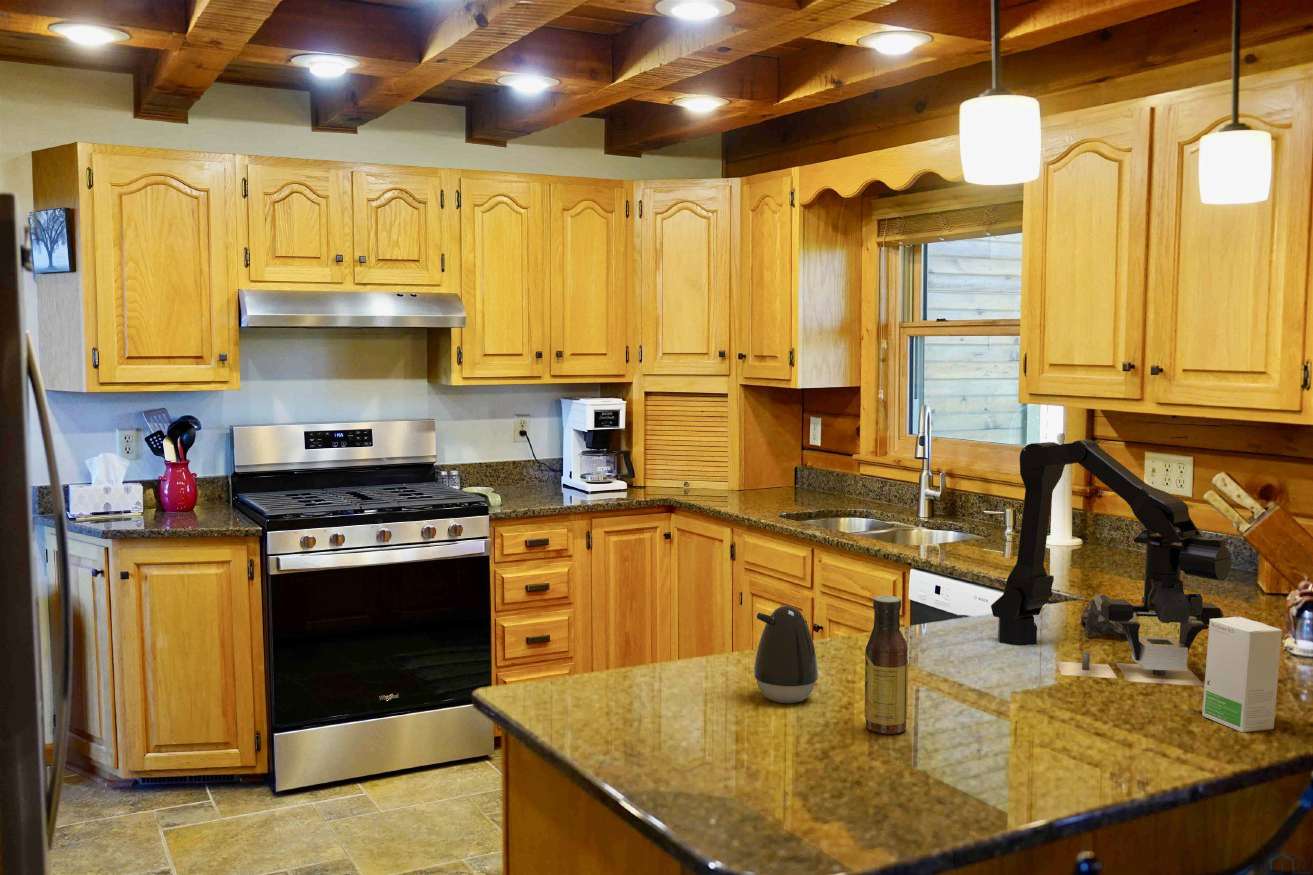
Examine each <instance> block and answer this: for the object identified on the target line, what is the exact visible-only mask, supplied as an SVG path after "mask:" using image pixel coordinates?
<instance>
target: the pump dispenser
mask: <svg viewBox="0 0 1313 875" xmlns="http://www.w3.org/2000/svg"><path fill="white" fill-rule="evenodd" d="M756 619H757V620H759V621H761V622H763V623H765V625H764V628H763V630H762V633H761V635H760V639H759V642H758V646H757V650H756V654H755V660H754V668H753V669H754V671H753V672H754V673H753V676H754V679H755V680H756V684H757V687H758V689H759V691H760V692H761V694H762V695H763V696H764V697H765V698H766V699H767V700H770V701H772V702H774V703H779V704H797V703H800V702H802V701H804V700H806V699H807V698H808V697H809V696H810V695H811V694H812V692H813V690H814V689H815V688H814V687H815V685H816V682H817V681H818V676H819V674H818V672H819V670H818V661H817V653H816V648H815V643H814V639H813V637H812V634H811V631H810V627H809V625H808V622H807V620H806V619H805V617H804V615H803V613H802V612H801V611H800V610H799V609H797V608H796V607H795V606H792V605H781V606H779V607H778V608H775V610H774V611H772V613H771V614H770V615H769V614H766V613H762V612H758V613H757V614H756Z"/></svg>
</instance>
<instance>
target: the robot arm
mask: <svg viewBox="0 0 1313 875" xmlns="http://www.w3.org/2000/svg"><path fill="white" fill-rule="evenodd" d="M1112 456H1113V455H1110V454H1109V453H1108V452H1106V451H1105V449H1104V448H1102V447H1101V446H1100V445H1099V444H1098V443H1097V442H1096V441H1094V440H1093V439H1081V440H1075V441H1072V442H1068V443H1062V444H1059V443H1056V442H1054V441H1053V442H1050V441H1049V442H1034V443H1033V442H1031V443H1029V444H1027V445H1025V447H1022V448H1021V450H1020V453H1019V474H1020V478H1021V481H1022V483H1023V485H1024V489H1025V491H1024V492H1025V493H1024V500H1023V508H1022V515H1021V516H1022V517H1021V523H1020V524H1021V525H1020V533H1019V540H1018V542H1019V543H1018V550H1017V557H1016V558H1017V559H1016V563H1015V565H1014V566H1013V568H1012V569H1011V571H1010V573H1009V575H1008V576H1007V579H1006V582H1005V586H1004V589H1003V594H1002V595H1001V596H999V598H998V599H996V600H995V601H994V602H993V603H992V604H991V605H990V608H991V612H992V616H993V617H995V618H998V622H997V623H998V624H997V625H998V628H997V630H998V632H997V640H998V643H999V644H1005V645H1010V646H1011V645H1012V646H1030V645H1031V646H1034V645H1035V646H1036V645H1037V644H1038V643H1037V642H1038V641H1037V640H1038V626H1037V624H1036V622H1035V617H1034V616H1039V615H1040V614H1041V611H1042V609H1043V607H1044V606H1045V605H1047V604H1048V602H1049V599H1050V598H1051V597H1053V590H1052V589H1053V588H1052V587H1053V584H1054V581H1055V578H1054V575H1050V574H1048V573H1047V571H1046V569H1045V555H1046V549H1047V548H1046V547H1047V539H1048V531H1049V530H1048V529H1049V523H1050V522H1049V521H1050V515H1051V514H1050V513H1051V508H1052V499H1053V492H1054V490H1055V489H1056V487H1057V485H1058V483H1059V482H1060V480H1061V478H1062V476H1063V473H1064V469H1065V466H1066V465H1067V466H1068V465H1074V464H1078V465H1080V466H1081V467H1082V468H1083V469H1085V470H1086V471H1088V472H1089V473H1090V474H1091V475H1092V476H1094V477H1095V478H1096V479H1098V481H1100V482H1101V483H1102V484H1103V485H1105V486H1106V487H1107V488H1109V489H1110V490H1112V492H1114V493H1115V494H1116V495H1117V496H1118V497H1120V498H1121V499H1122V500H1124V501H1125V502H1126V504H1128V505H1129V507H1130V509H1131V511H1132V513H1133V515H1134V517H1135V518H1136V519H1137V520H1138V521H1139V522H1140V523H1141V524H1142V526H1143V527H1144V528H1145V529H1143V530H1142V532H1141V533H1140V534H1139V535H1137V536H1136V537H1134V538H1133V542H1134V543H1137V544H1142V545H1145V558H1144V559H1145V561H1144V573H1143V574H1142V580H1143V581H1144V582H1143V583H1144V584H1143V596H1142V597H1141V603H1142V605H1140V604H1139V605H1137V604H1132V603H1130V602H1129V601H1127V600H1126V599H1124V598H1123V599H1117V598H1110V599H1104V601H1103V602H1102V603H1101V614H1102V615H1103V616H1104V617H1105V618H1106V619H1108V620H1110V621H1117V622H1118V623H1119V624H1120V625H1122V627H1123V629H1124V631H1125V633H1126V635H1127V638H1128V643H1129V646H1130V650H1131V654H1132V653H1133V656H1134V658H1135V660H1136V661H1138V660H1139V636H1140V635H1139V634H1140V633H1139V630H1140V628H1141V624H1140V623H1139V622H1138V621H1137V617H1149V618H1150V617H1152V618H1157V619H1158V621H1159V622H1161V623H1163V624H1170V623H1174V624H1175V623H1178V624H1180V626H1179V640H1178V641H1179V642H1181V643H1182V644H1184V645H1185V646H1186V647H1188V652H1190V649H1191V646H1192V644H1193V642H1194V640H1195V639H1196V637H1197V636H1198V635H1199V633H1201V632H1202V631H1203V630H1209V623H1210V619H1215V618H1224V615H1225V614H1224V612H1223V610H1222V609H1221V608H1220V607H1219V606H1217V605H1215V604H1214V603H1212V602H1206V601H1204V602H1203V600H1204V599H1203V596H1202V594H1201V593H1188V594H1186V593H1185V592H1184V584H1183V583H1184V582H1183V580H1182V572H1183V573H1184V575H1186V576H1189V577H1196V578H1202V579H1208V580H1214V581H1220V582H1223V581H1225V580H1226V579H1227V578H1228V576H1229V574H1230V571H1231V568H1232V557H1231V554H1230V550H1229V549H1228V548H1227V546H1226V544H1227V541H1226V539H1225V538H1224V539H1223V538H1206V537H1203V535H1202V534H1201V532H1200V531H1199V529H1198V528H1197V526H1196V524H1195V523H1194V521H1193V519H1192V518H1191V517H1190V513H1189V510H1190V508H1189V507H1188V504H1186V502H1185V501H1183V500H1182V499H1180V498H1178V497H1176V496H1174V495H1172V494H1171V493H1169V492H1167V491H1165V490H1162V489H1158V488H1156V487H1154V486H1152V485H1149V484H1148V483H1146V482H1145V481H1144V480H1142V479H1141V478H1140V477H1138V475H1137V474H1134V473H1133V472H1132V471H1130V470H1129V469H1128V468H1127V467H1126V466H1125V465H1123V464H1122V463H1121V462H1119V461H1118V460H1117V459H1116V458H1114V457H1112Z"/></svg>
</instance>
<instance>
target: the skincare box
mask: <svg viewBox="0 0 1313 875" xmlns="http://www.w3.org/2000/svg"><path fill="white" fill-rule="evenodd" d="M1208 626H1209V628H1208V636H1207V637H1208V638H1207V649H1206V650H1207V651H1206V663H1205V674H1204V675H1205V676H1204V685H1205V686H1203V687H1204V689H1203V700H1202V712H1201V713H1202V716H1203V718H1207V719H1209V720H1211V721H1214V722H1216V723H1218V724H1221V725H1223V726H1226V727H1228V728H1231V729H1234V730H1236V731H1238V732H1240V733H1250V732H1257V731H1265V730H1266V731H1267V730H1273V729H1274V728H1275V718H1276V706H1277V692H1278V682H1279V672H1280V670H1279V669H1280V661H1281V659H1280V658H1281V648H1282V647H1281V646H1282V638H1283V637H1282V635H1283V629H1280V628H1278V627H1274V626H1271V625H1268V624H1265V623H1263V622H1260V621H1256V620H1252V619H1248V618H1246V617H1242V616H1231V617H1223V618H1215V619H1210V623H1209V625H1208Z"/></svg>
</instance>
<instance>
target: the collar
mask: <svg viewBox="0 0 1313 875" xmlns="http://www.w3.org/2000/svg"><path fill="white" fill-rule="evenodd" d="M1188 654H1189V651H1188V647H1186V646H1185V645H1184V644H1182V643H1181V642H1179V640H1178V639H1177V638H1175V637H1164V636H1161V637H1159V636H1140V635H1139V660H1138V661H1136V660H1135V658H1134V656H1133V653H1132V652H1131V659H1132V660H1133V661H1134V662H1135V664H1138V665H1140V666H1141V667H1142V668H1143V669H1150V670H1174V671H1187V667H1188V657H1189V656H1188Z"/></svg>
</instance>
